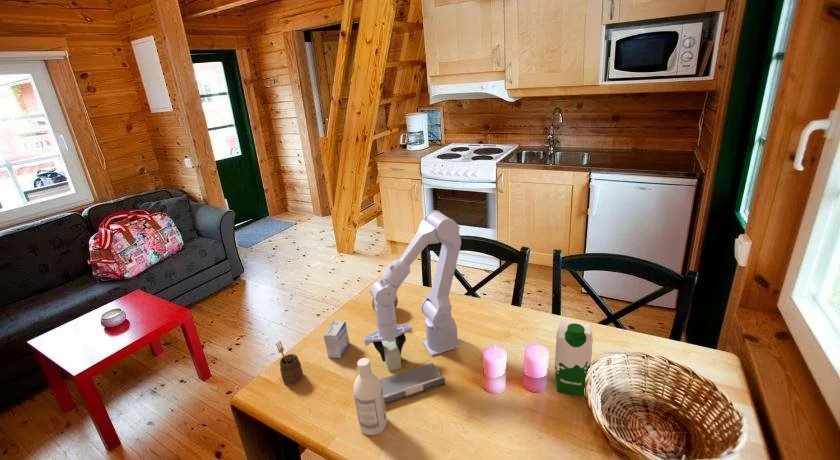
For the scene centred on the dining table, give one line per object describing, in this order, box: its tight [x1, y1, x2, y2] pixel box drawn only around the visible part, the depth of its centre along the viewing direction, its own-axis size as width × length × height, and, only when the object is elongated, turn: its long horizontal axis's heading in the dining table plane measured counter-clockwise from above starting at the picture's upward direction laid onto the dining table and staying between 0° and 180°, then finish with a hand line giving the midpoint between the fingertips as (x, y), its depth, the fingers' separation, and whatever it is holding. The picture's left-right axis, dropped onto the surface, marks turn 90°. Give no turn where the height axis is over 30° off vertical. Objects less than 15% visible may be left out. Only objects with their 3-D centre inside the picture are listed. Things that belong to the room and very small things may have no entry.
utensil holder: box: [275, 341, 304, 386], centre depth 118 cm, size 6×6×12 cm
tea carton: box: [382, 340, 402, 372], centre depth 123 cm, size 4×7×6 cm, turn 20°
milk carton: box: [554, 319, 594, 397], centre depth 106 cm, size 9×9×20 cm
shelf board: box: [379, 362, 446, 406], centre depth 114 cm, size 20×9×2 cm, turn 110°
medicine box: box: [323, 320, 350, 359], centre depth 130 cm, size 8×4×9 cm, turn 168°
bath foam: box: [352, 357, 388, 436], centre depth 99 cm, size 7×7×20 cm
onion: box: [371, 296, 399, 312], centre depth 148 cm, size 10×9×10 cm
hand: (391, 357), depth 123 cm, fingers open, 4 cm apart
